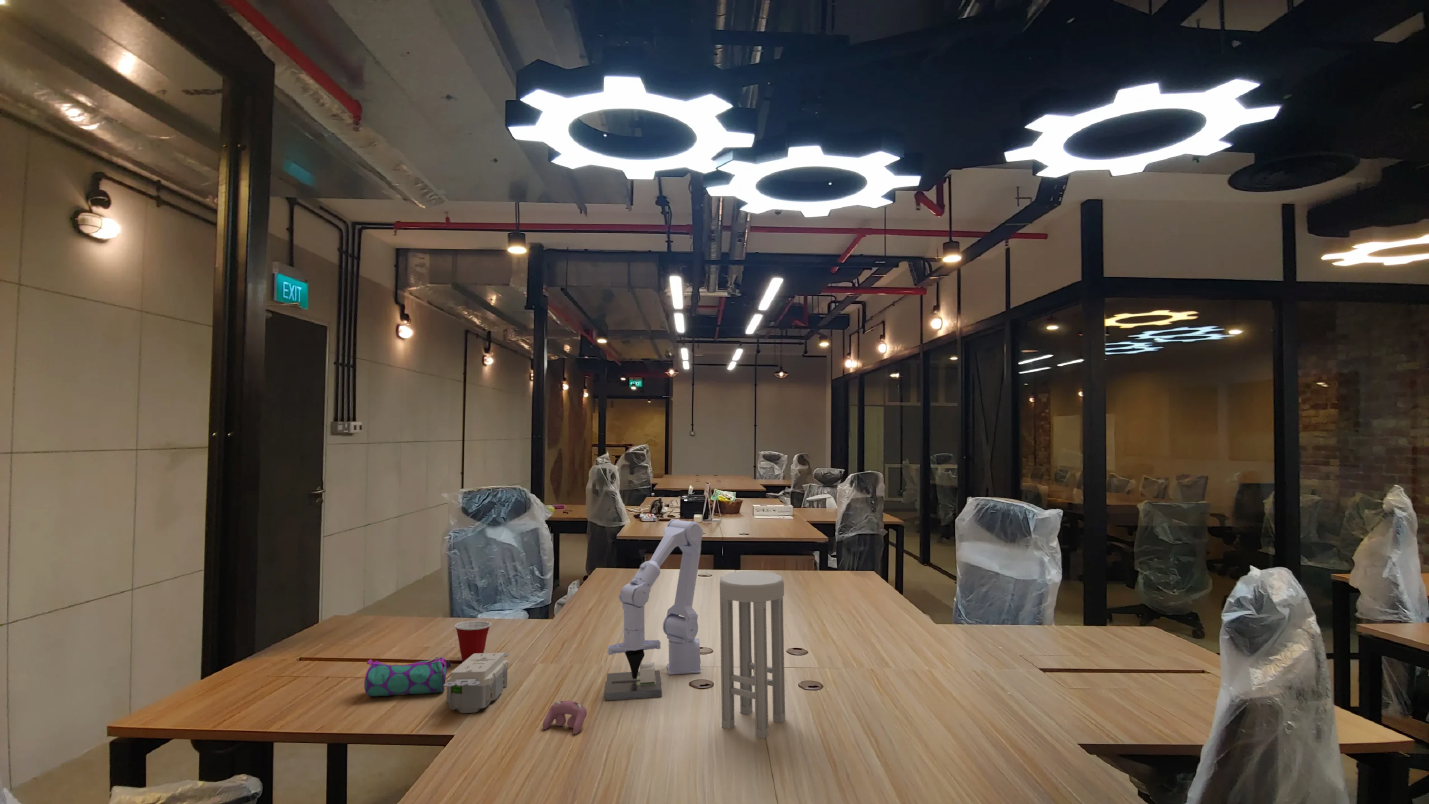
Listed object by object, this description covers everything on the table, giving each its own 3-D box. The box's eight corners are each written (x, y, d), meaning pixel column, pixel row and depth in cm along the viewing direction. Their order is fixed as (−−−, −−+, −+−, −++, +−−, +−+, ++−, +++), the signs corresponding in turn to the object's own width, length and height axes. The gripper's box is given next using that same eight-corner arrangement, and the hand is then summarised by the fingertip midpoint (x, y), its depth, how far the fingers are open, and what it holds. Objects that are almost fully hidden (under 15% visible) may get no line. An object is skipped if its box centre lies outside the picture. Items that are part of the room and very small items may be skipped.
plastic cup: (498, 659, 200) (498, 621, 200) (469, 670, 190) (469, 630, 191) (476, 653, 205) (476, 616, 206) (446, 664, 196) (447, 624, 197)
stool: (767, 744, 143) (764, 587, 144) (709, 728, 151) (707, 580, 153) (796, 718, 156) (793, 574, 158) (741, 704, 164) (739, 568, 166)
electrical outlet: (434, 721, 155) (435, 679, 156) (473, 684, 184) (474, 648, 185) (482, 720, 156) (483, 677, 157) (514, 682, 184) (515, 647, 185)
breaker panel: (659, 677, 183) (659, 669, 183) (661, 696, 169) (661, 688, 170) (607, 680, 181) (607, 672, 182) (605, 700, 168) (605, 692, 168)
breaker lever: (654, 674, 179) (654, 662, 179) (654, 681, 174) (654, 668, 174) (640, 675, 178) (639, 663, 178) (640, 682, 173) (640, 669, 174)
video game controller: (584, 735, 152) (591, 703, 155) (575, 734, 148) (582, 701, 151) (549, 730, 155) (556, 698, 158) (539, 729, 151) (546, 697, 154)
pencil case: (450, 683, 181) (451, 649, 181) (444, 696, 172) (444, 660, 173) (371, 690, 177) (372, 655, 177) (360, 703, 168) (361, 667, 169)
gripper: (656, 621, 182) (656, 669, 182) (605, 626, 178) (606, 675, 177) (662, 628, 176) (662, 677, 175) (609, 633, 171) (610, 685, 170)
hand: (634, 677), depth 176 cm, fingers closed
